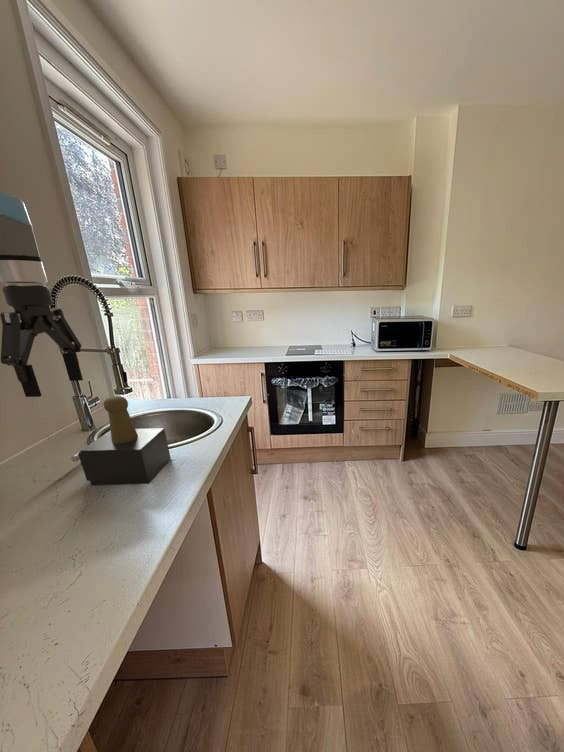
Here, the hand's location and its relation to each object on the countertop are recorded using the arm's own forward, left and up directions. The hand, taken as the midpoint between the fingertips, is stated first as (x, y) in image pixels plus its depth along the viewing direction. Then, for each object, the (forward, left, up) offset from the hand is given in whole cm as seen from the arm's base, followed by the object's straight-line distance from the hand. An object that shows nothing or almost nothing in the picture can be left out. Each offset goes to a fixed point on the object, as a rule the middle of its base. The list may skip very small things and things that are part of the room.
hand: (56, 387), depth 78 cm
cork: (+8, +6, -16) cm, 19 cm away
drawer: (+4, +6, -24) cm, 25 cm away
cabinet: (+8, +6, -25) cm, 27 cm away
